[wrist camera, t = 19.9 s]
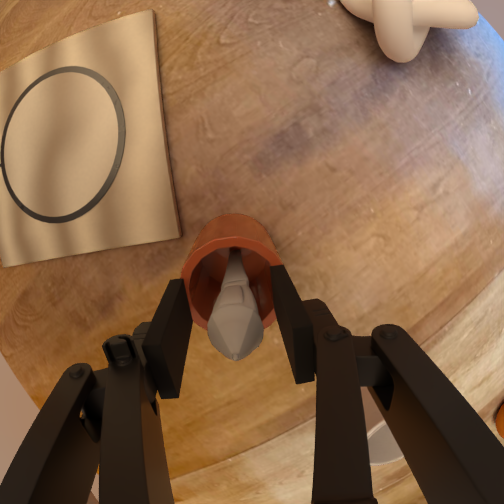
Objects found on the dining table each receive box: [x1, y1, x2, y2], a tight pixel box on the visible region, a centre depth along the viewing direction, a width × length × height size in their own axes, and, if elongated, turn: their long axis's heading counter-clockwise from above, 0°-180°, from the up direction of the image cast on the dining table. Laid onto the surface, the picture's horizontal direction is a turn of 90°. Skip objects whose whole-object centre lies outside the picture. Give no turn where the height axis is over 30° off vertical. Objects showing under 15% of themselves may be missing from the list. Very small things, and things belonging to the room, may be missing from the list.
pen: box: [207, 250, 264, 361], centre depth 18 cm, size 2×3×14 cm
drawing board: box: [0, 9, 182, 268], centre depth 21 cm, size 20×20×1 cm
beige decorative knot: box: [340, 0, 479, 63], centre depth 16 cm, size 11×12×9 cm
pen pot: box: [180, 213, 283, 331], centre depth 22 cm, size 6×6×8 cm
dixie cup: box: [361, 387, 404, 466], centre depth 26 cm, size 8×8×10 cm
